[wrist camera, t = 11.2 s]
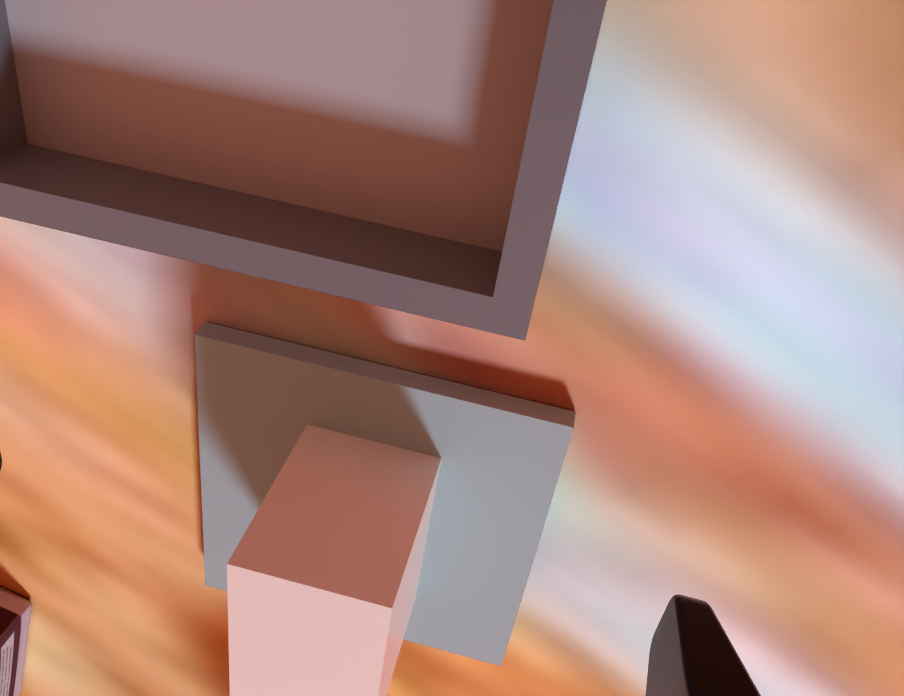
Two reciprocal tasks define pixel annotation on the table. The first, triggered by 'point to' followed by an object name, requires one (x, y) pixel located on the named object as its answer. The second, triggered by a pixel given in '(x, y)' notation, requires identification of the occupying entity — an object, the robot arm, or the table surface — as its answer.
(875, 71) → the table surface
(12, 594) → the supplement box
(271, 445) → the mat
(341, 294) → the grey square tray
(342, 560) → the block
